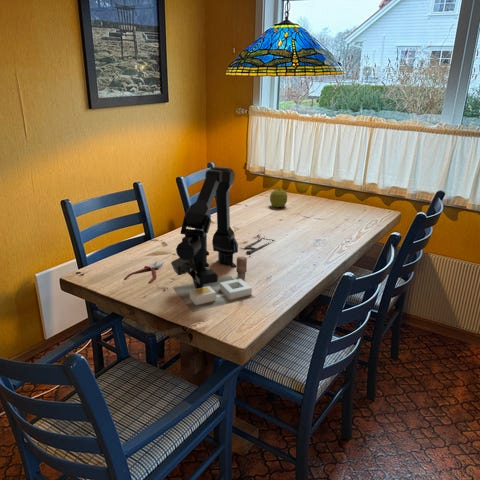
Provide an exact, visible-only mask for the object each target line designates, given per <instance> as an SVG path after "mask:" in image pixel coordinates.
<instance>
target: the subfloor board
mask: <svg viewBox="0 0 480 480" xmlns="http://www.w3.org/2000/svg"><path fill="white" fill-rule="evenodd" d="M230 280H235V278H233V277H232V276H231V275H227V276H222V277H218V281H217V282H214V283H209V284H204V285H203V287H206V286H210V287H211V288H212V289H213V290H214V291H215V292H216V301H211V302H207V303H203V304H198V305H195V304H194V303H193V301H192V300H191V299H190V290H192V289H195V285H194V282H193V283H188V284H185V285H184V284H183V285H179V286H175V287H174V286H173V287H172V288H173V290H174V291H175V293H176V294H177V295H178V296H179V297H180V298H181V299H182V302H184V303H185V305H186V306H187V307H188V308H189V310H190V311H191V312H192V313H194V312H199V311H202V310H206V309H210V308H215V307H219V306H224V305H228V304H233V303H236V302H240V301H244V300H249V299H253V298H255V296H254V295H253V294H252V295H247V296H243V297H239V298H235V299H229V298H228V297H227V296H226V295H225V294H224V293H223V292H222V291H221V290H220V283H221V282H225V281H230Z"/></svg>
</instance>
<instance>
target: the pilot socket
mask: <svg viewBox="0 0 480 480" xmlns="http://www.w3.org/2000/svg"><path fill="white" fill-rule="evenodd" d="M220 290H221V291H222V292H223V293H224V294H225V295H226V296H227V297H228V298H229V299H235V298H239V297H243V296H247V295H253V292H252V291H253V287H252V286H251V285H249V284H248V283H247V282H245V281H244V279H241V278H240V279H238V278H234V280H230V281H225V282H221V283H220Z"/></svg>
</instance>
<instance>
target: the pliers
mask: <svg viewBox="0 0 480 480" xmlns="http://www.w3.org/2000/svg"><path fill="white" fill-rule="evenodd" d="M164 263H165V262H164V261H163V262H160V263H159V262H158V261H157V260H156V261H155V262H153V263H152V264H151V265H150V266H149V265H144V267H143V268H142V269H139V270H136V271H134V272H131V273H128V274H127V275H126V276H125V277H124V278H123V280H124V281H126V280H128V279H129V277H131V276H133V275H137V274H138V275H139V274H143V273H144V274H145V273H148V272H149V273H150V272H152V278H151V279H150V280H149V281H147V282H148V283H147V284H148V285H149V284H152V283H153V282H154V281H156V280H157V271H159V270H160V268H161V267H162V266H163V265H164ZM124 281H123V282H122V283H123V284H125V282H124Z"/></svg>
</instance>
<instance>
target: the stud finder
mask: <svg viewBox="0 0 480 480" xmlns="http://www.w3.org/2000/svg"><path fill="white" fill-rule="evenodd" d="M190 299H191V300H192V301H193V303H194V304H195V305H198V304H203V303H207V302H211V301H216V292H215V291H214V290H213V289H212V288H211V287H210V286H206V287H202V288H197V289H192V290H190Z"/></svg>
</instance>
